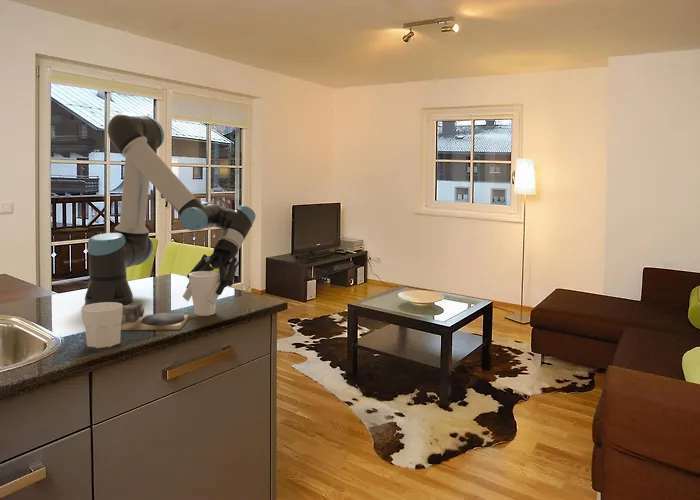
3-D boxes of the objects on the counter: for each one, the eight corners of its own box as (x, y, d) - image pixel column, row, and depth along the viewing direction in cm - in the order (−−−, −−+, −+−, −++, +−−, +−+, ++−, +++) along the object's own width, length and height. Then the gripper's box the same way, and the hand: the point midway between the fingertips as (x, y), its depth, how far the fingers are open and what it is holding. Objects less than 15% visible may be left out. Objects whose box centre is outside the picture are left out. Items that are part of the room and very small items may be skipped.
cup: (74, 346, 142) (72, 309, 140) (104, 335, 151) (102, 300, 150) (103, 351, 138) (102, 313, 137) (132, 340, 148) (131, 304, 146)
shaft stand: (101, 330, 156) (100, 308, 155) (115, 318, 168) (114, 299, 167) (179, 329, 158) (179, 308, 157) (188, 318, 170) (187, 298, 169)
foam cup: (211, 318, 171) (210, 277, 169) (184, 316, 172) (183, 275, 171) (224, 310, 180) (223, 271, 178) (198, 308, 182) (197, 270, 180)
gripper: (260, 254, 183) (231, 311, 171) (208, 249, 192) (177, 302, 180) (251, 240, 177) (220, 297, 165) (197, 236, 186) (165, 290, 174)
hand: (198, 300), depth 173 cm, fingers closed on foam cup, 9 cm apart
